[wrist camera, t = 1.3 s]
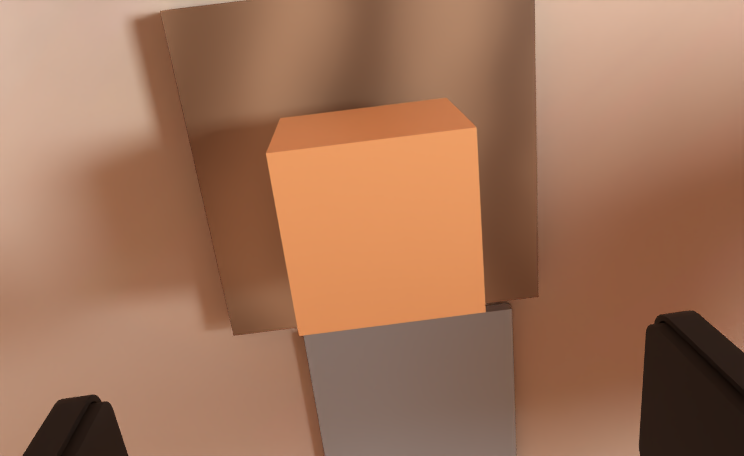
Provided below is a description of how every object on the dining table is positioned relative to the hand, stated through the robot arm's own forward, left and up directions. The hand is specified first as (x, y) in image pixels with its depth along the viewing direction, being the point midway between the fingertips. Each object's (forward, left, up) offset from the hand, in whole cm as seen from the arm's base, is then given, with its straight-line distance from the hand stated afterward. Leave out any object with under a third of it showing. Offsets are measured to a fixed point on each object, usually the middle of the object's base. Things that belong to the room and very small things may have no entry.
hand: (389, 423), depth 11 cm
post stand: (-1, 0, -17) cm, 17 cm away
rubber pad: (-2, +13, -17) cm, 22 cm away
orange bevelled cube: (-1, 0, -13) cm, 13 cm away
